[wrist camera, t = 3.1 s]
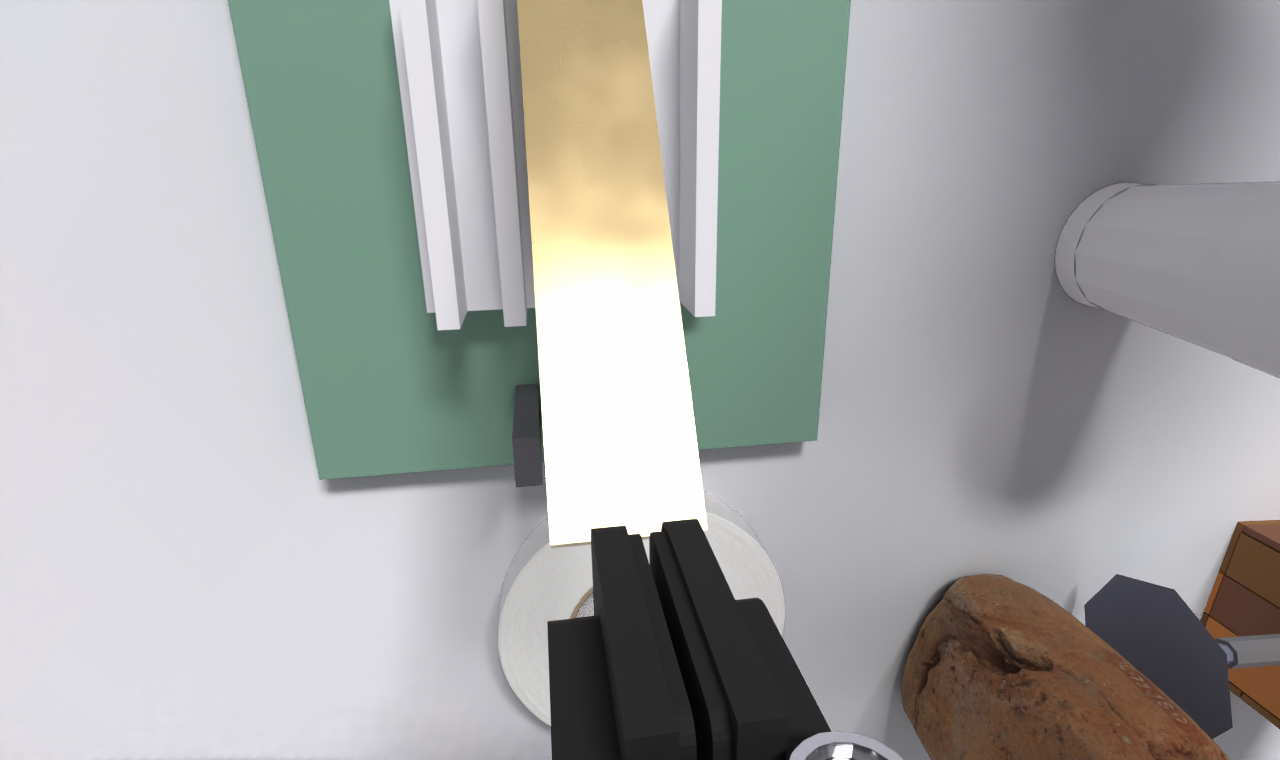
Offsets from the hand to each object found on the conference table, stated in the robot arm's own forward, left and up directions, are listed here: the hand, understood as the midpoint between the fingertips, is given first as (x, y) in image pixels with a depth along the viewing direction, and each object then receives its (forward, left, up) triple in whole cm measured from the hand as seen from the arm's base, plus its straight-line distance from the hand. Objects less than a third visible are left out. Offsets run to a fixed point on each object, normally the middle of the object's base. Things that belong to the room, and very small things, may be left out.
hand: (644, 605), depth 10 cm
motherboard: (-7, 0, -22) cm, 23 cm away
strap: (-8, 0, -10) cm, 13 cm away
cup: (-2, +28, -23) cm, 36 cm away
